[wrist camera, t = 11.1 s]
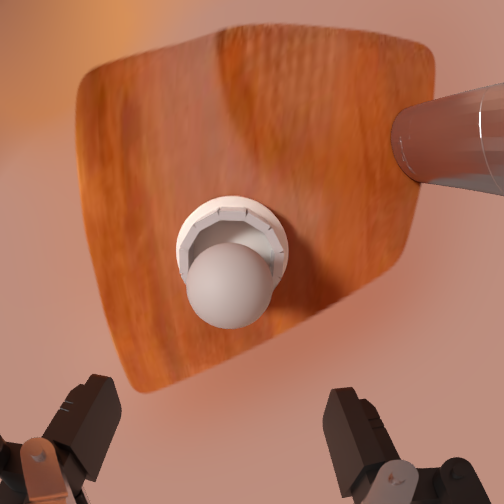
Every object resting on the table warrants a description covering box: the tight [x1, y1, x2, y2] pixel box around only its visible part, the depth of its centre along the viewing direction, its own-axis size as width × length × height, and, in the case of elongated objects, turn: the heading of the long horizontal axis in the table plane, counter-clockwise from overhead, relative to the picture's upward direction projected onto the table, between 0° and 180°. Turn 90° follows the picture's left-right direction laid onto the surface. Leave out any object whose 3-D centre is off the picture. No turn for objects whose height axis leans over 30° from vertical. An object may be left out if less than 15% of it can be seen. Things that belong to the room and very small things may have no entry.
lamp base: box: [176, 195, 289, 290], centre depth 28 cm, size 11×11×5 cm
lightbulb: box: [186, 243, 273, 329], centre depth 23 cm, size 6×6×11 cm
